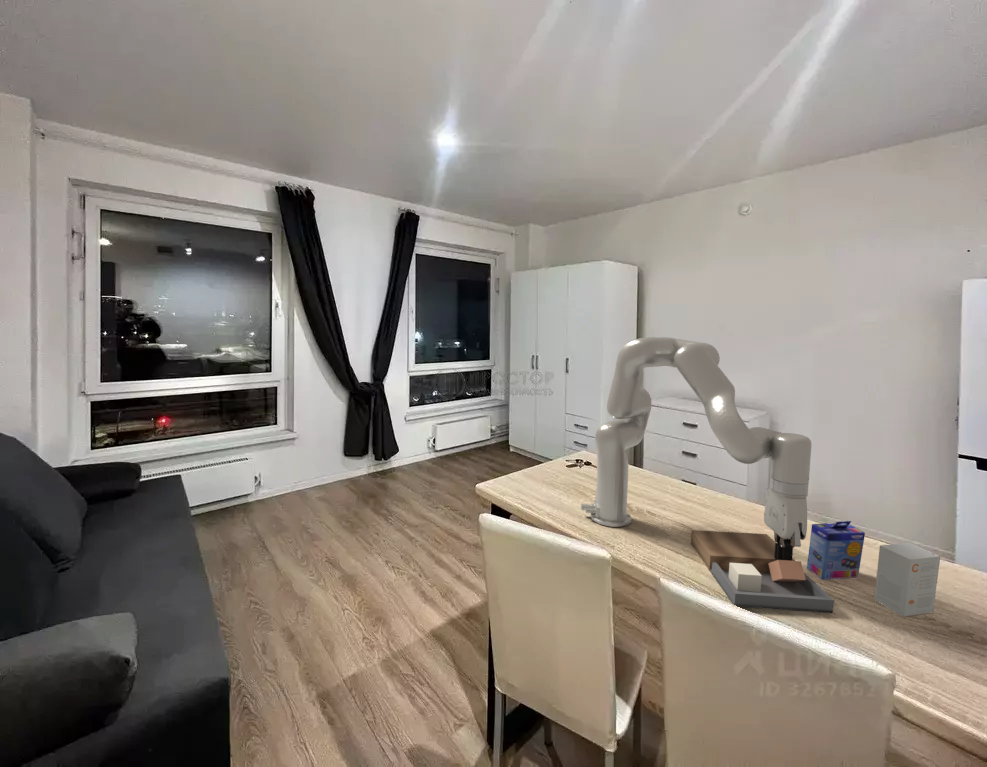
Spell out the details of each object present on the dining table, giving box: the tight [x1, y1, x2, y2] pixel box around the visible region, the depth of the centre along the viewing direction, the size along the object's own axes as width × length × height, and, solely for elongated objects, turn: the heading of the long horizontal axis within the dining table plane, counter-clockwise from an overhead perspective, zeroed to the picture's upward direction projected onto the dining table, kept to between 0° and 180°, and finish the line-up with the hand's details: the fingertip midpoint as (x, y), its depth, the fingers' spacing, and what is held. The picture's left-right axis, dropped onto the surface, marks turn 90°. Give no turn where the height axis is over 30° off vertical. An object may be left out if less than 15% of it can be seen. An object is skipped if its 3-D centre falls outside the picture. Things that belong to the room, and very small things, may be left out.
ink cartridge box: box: [806, 520, 866, 581], centre depth 108 cm, size 10×6×14 cm, turn 95°
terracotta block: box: [768, 560, 806, 583], centre depth 103 cm, size 5×5×4 cm
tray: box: [709, 562, 835, 614], centre depth 101 cm, size 20×14×3 cm
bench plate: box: [690, 529, 797, 573], centre depth 115 cm, size 20×14×4 cm
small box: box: [873, 542, 941, 618], centre depth 95 cm, size 8×6×13 cm
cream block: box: [728, 563, 762, 592], centre depth 102 cm, size 5×5×4 cm
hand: (783, 560), depth 104 cm, fingers closed
